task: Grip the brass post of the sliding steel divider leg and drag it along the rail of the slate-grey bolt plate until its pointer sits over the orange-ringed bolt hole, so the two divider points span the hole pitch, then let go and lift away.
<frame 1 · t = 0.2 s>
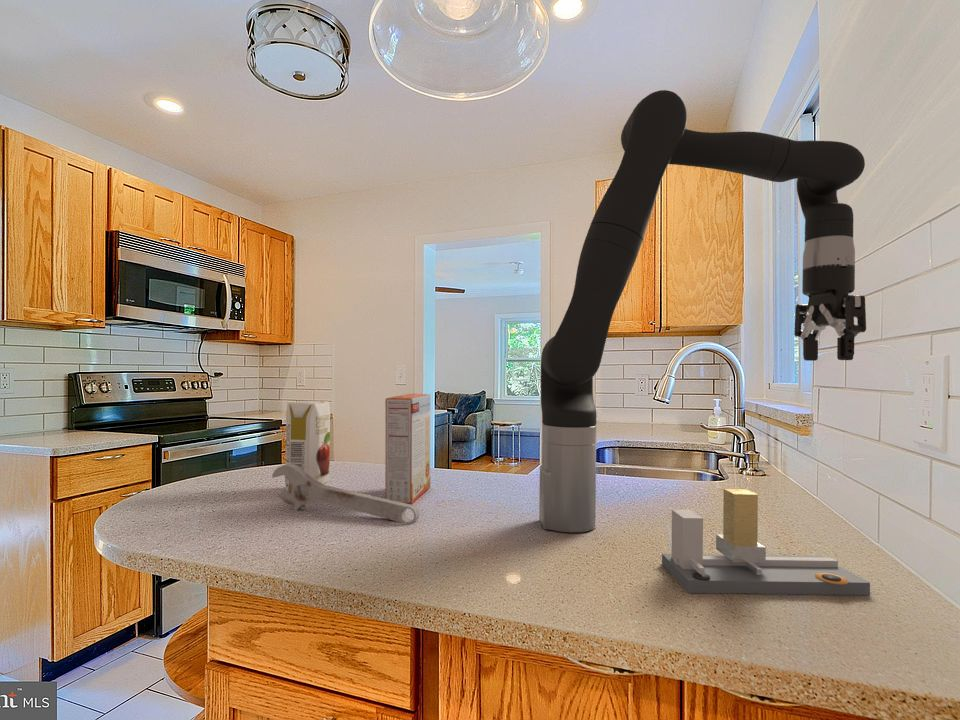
hand: (827, 360, 90), 29 cm above the countertop, tool pointing down, fingers open, 8 cm apart
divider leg: (744, 528, 67), point 6 cm above the countertop, slide at 0.0 cm
wrench: (342, 516, 94), on the countertop
juice carton: (307, 491, 111), on the countertop
cracker box: (408, 496, 108), on the countertop
bolt plate: (759, 578, 67), on the countertop
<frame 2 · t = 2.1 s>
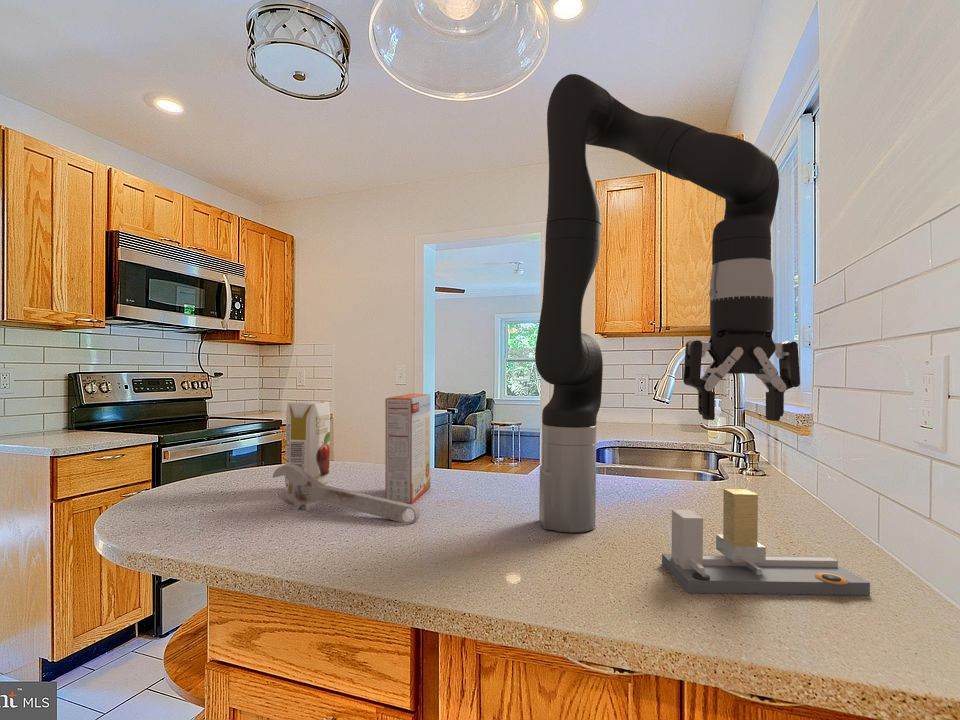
hand: (740, 420, 69), 20 cm above the countertop, tool pointing down, fingers open, 8 cm apart
nothing on the countertop moved.
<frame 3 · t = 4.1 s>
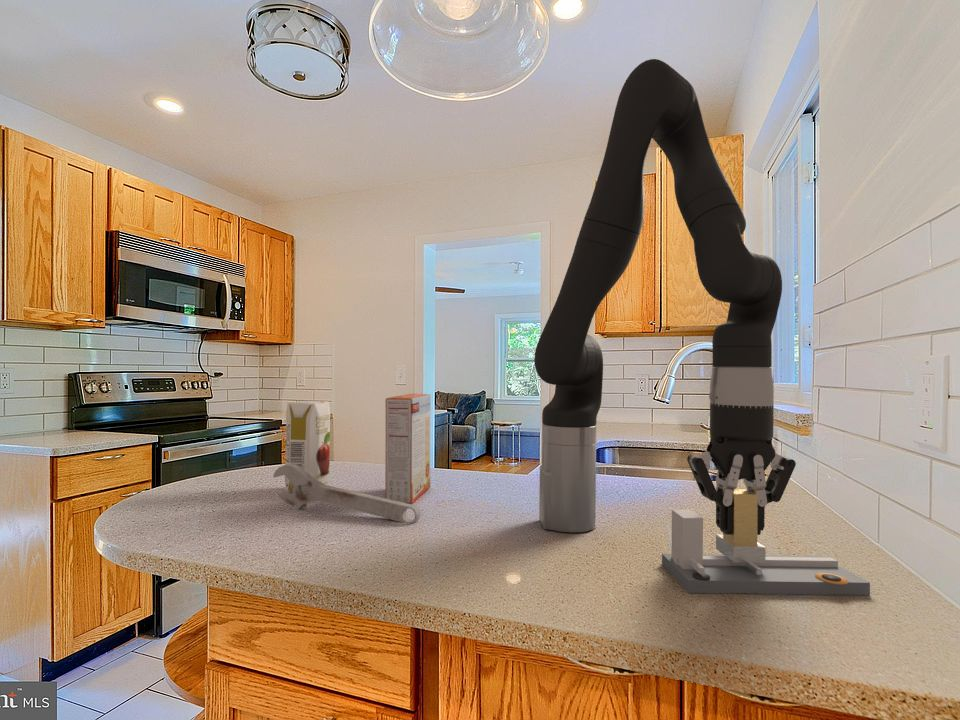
hand: (740, 532, 68), 6 cm above the countertop, tool pointing down, fingers closed on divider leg, 3 cm apart
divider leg: (744, 528, 67), point 6 cm above the countertop, slide at 0.0 cm, touching gripper
everything else where it was.
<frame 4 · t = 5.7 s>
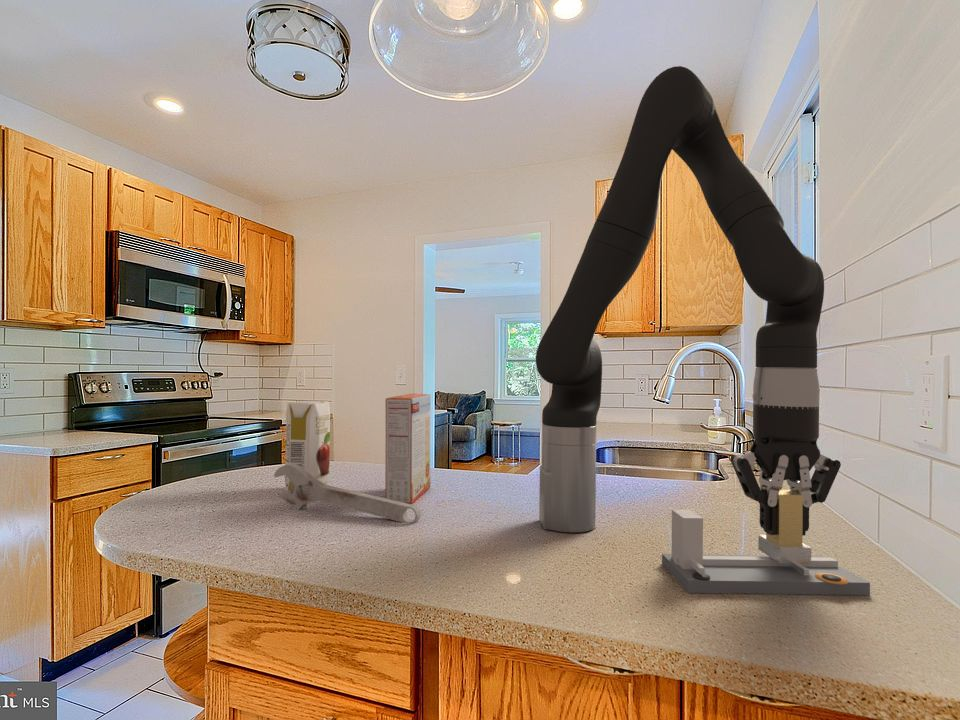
hand: (784, 532, 68), 6 cm above the countertop, tool pointing down, fingers closed on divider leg, 3 cm apart
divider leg: (789, 529, 67), point 6 cm above the countertop, slide at 5.8 cm, touching gripper
everything else where it was.
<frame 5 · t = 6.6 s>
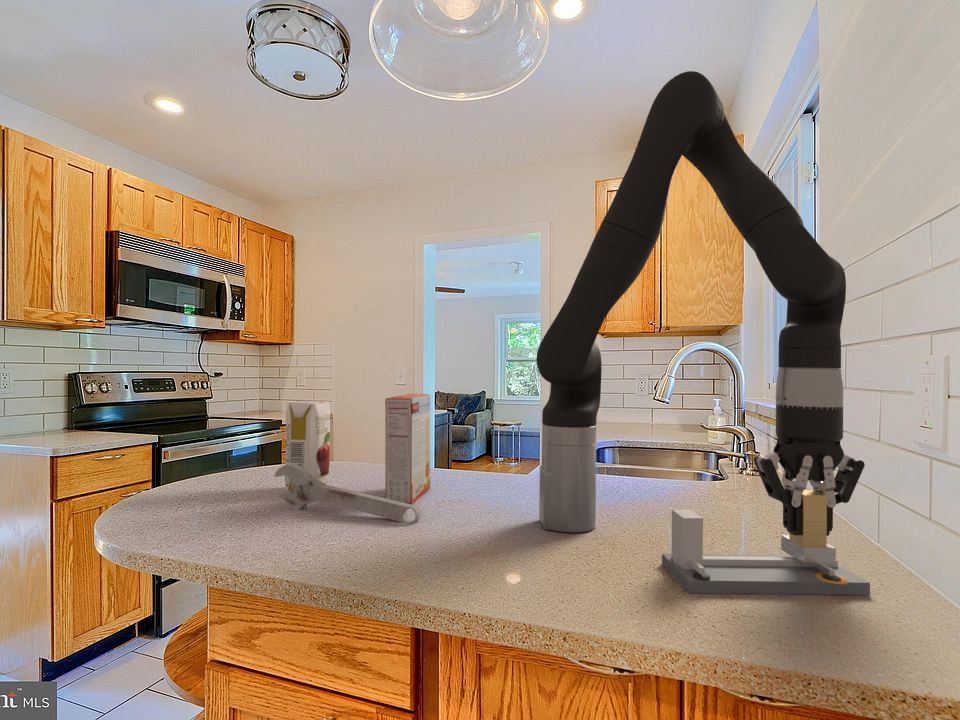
hand: (807, 533, 68), 6 cm above the countertop, tool pointing down, fingers closed on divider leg, 3 cm apart
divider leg: (813, 529, 67), point 6 cm above the countertop, slide at 8.9 cm, touching gripper
everything else where it was.
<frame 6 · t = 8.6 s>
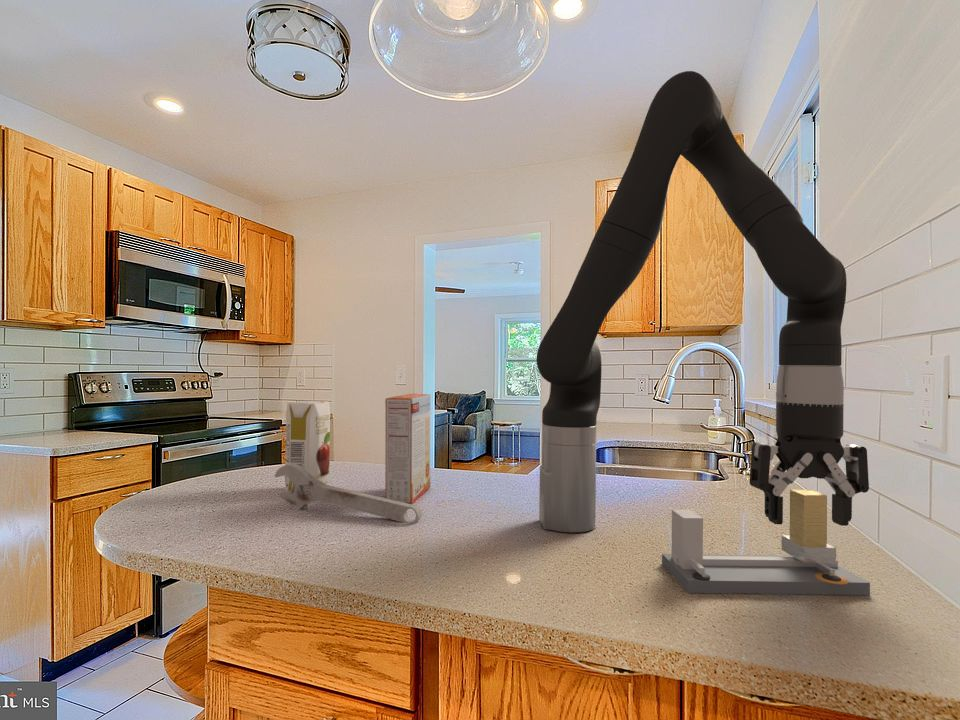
hand: (807, 523, 68), 7 cm above the countertop, tool pointing down, fingers open, 8 cm apart
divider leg: (813, 529, 67), point 6 cm above the countertop, slide at 8.9 cm
everything else where it was.
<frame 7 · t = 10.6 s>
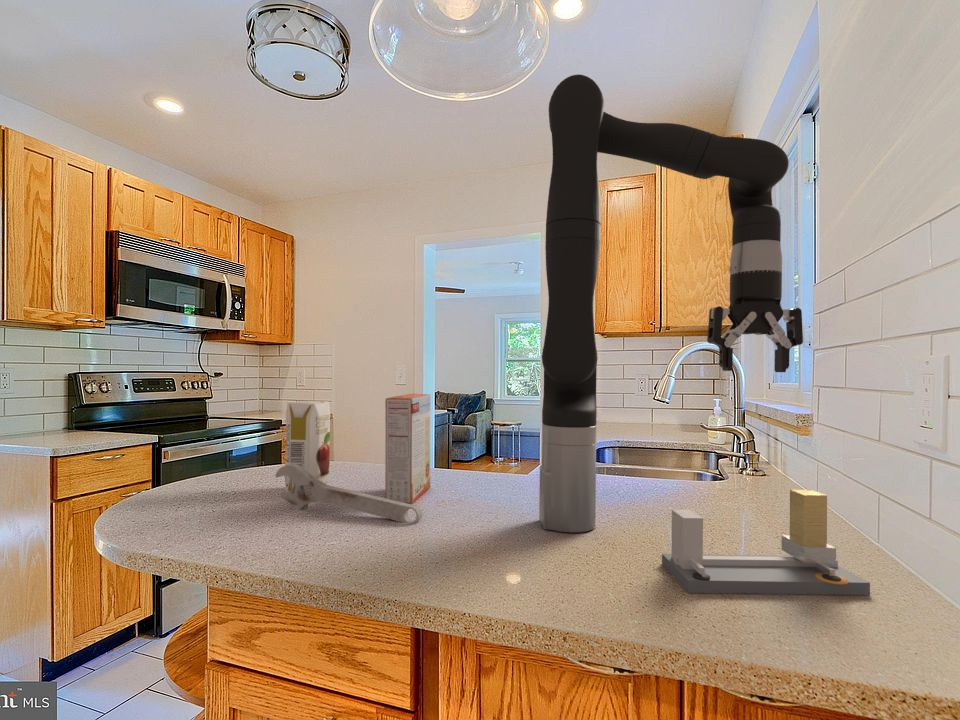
hand: (753, 371, 85), 27 cm above the countertop, tool pointing down, fingers open, 8 cm apart
nothing on the countertop moved.
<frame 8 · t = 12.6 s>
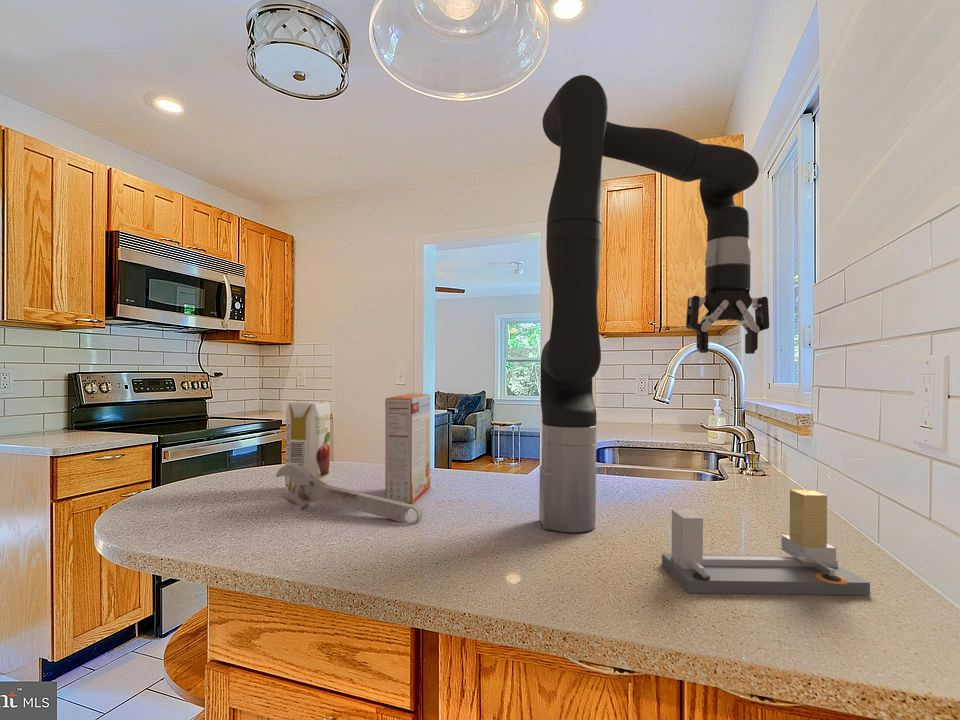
hand: (726, 353, 96), 30 cm above the countertop, tool pointing down, fingers open, 8 cm apart
nothing on the countertop moved.
at the end: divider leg slide at 8.9 cm; the gripper is holding nothing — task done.
